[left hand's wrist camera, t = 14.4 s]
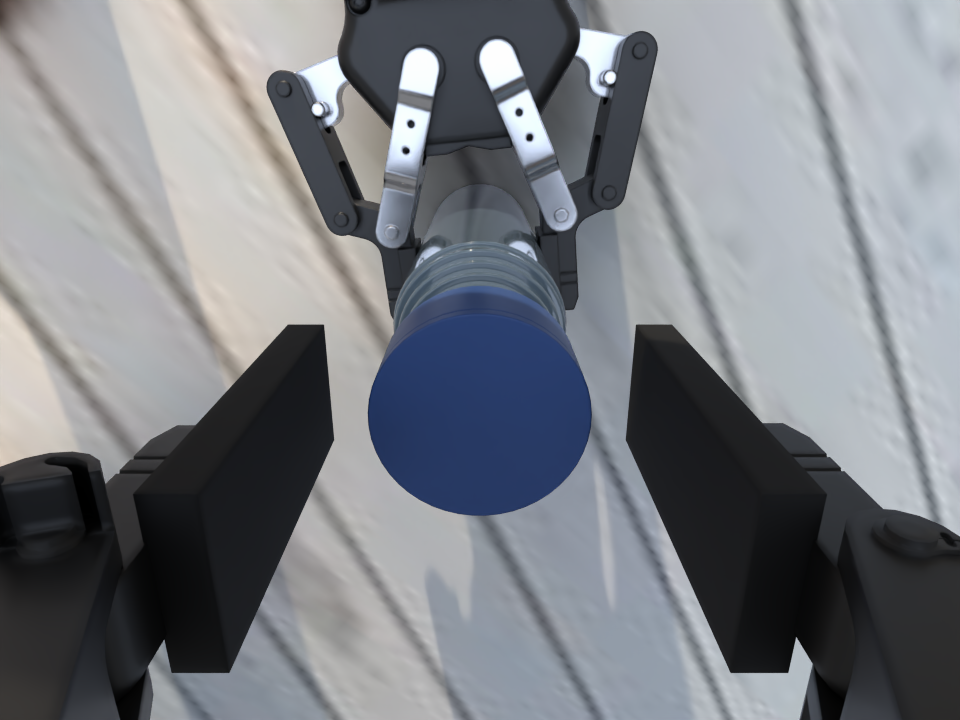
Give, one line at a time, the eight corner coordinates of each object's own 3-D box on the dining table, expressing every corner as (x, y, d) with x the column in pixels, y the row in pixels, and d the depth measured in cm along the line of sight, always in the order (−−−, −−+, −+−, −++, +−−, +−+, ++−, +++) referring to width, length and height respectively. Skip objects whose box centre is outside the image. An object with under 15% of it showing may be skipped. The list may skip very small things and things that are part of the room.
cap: (564, 470, 15) (577, 522, 13) (381, 458, 15) (366, 509, 13) (588, 292, 14) (606, 322, 12) (385, 277, 14) (368, 305, 12)
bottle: (430, 277, 33) (360, 507, 14) (433, 180, 31) (358, 286, 12) (524, 283, 33) (585, 518, 14) (532, 186, 31) (615, 300, 12)
